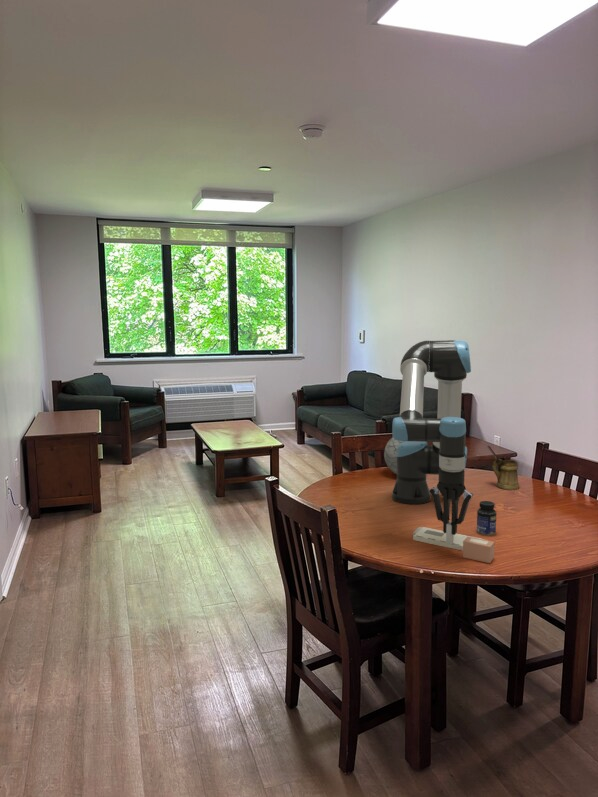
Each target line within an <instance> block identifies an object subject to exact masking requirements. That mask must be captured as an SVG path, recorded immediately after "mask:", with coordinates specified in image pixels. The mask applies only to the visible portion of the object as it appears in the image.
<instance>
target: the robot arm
mask: <svg viewBox="0 0 598 797" xmlns="http://www.w3.org/2000/svg"><path fill="white" fill-rule="evenodd" d="M470 356H471V355H470V348H469V344H468V342H467V341H465V340H455V339H453V340H452V339H451V340H423V341H419V342H418V343H414V345H412V346H410V348H409V349H408V350H406V352H405V353H404V354H403V356H402V359H401V362H400V367H399V368H400V369H399V370H400V371H399V372H400V374H401V375H402V377H401V378H402V382H401V392H400V393H401V395H400V405H399V406H400V407H399V408H400V409H399V416H398V417H394V418H393V419H392V428H391V431H392V432H391V434H392V437H393V439H394V440H398V441H406V442H403V443H401V444H399V445H398V448H397V474H396V480H395V483H394V486H393V489H392V492H391V495H392V496H391V497H392V500H394V501H395V502H397V503H401V504H407V505H421V504H427V503H428V502H430V501H431V496H432V501H433V505H434V509H435V514H436V519H437V520H438V521H440V522H442V523H443V525H442V526H443V529H442V531H443V532H444V533H446V545H452V544H453V543H454V535H455V534H458V525H461V524H462V523H463V522H464V520H465V516H466V514H467V510H468V507H469V503H470V500H471V499H472V497H473V496H474V494H473V493H472V492H469V491H468V490H467V489H466V486H465V473H466V472H465V470H466V465H467V456H468V446H466V439H467V438H466V433H467V427H466V426H467V424H466V420H465V419H464V418H461V412H462V395H463V394H462V392H463V391H462V389H463V381H465V380H466V378H467V374H469V373H471V372H472V371H471V370H472V366H471V357H470ZM427 373H434V375H433V376H434V379H436V380H437V381H438V383H437V386H438V387H437V418H432V417H431V418H427V417H424V390H425V376H426V374H427ZM428 443H432V444H428ZM427 475H433V476H434V475H437V476H438V483H437V485H436V486H435V487H432V488H431V489H430V488H429V484H428V482H427ZM440 494H441V497H442V502H443V507H442V502H441V497H440ZM462 495H463V496H462ZM461 496H462V497H463V502H462V505H461V508H460V511H459V500H460V497H461ZM450 504H451V505H450ZM450 506H451V508H450ZM450 509H451V518H450Z"/></svg>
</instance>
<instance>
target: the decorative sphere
mask: <svg viewBox="0 0 598 797" xmlns="http://www.w3.org/2000/svg"><path fill="white" fill-rule="evenodd" d="M403 442H406V441H398V440H394V439H393V436H392V437H391V438H390V439H389V440H388V441H387V443H386V445H385V448H384V453H383V456H384V461H385V464H386V466H387V468H388V469H389V470H390V471H391V472H392V473H394V474H396V475H397V448H398V445H399V444H401V443H403Z"/></svg>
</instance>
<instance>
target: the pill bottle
mask: <svg viewBox="0 0 598 797" xmlns="http://www.w3.org/2000/svg"><path fill="white" fill-rule="evenodd" d="M479 507H480V508H478V509H477V512H476V513H477V514H476V533H477V534H479V535H481V536H488V537H489V536H490V537H493V536H496V534H497V511H496V510H495V502H493V501H489V500H480V501H479Z"/></svg>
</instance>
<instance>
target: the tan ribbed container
mask: <svg viewBox="0 0 598 797" xmlns="http://www.w3.org/2000/svg"><path fill="white" fill-rule="evenodd" d="M487 448H488V449H489V451H490V452H491V454H492V455H493V457H494V460H493V462H492V465H491V466H492V471H493V472H494V474H495V476H496V479H497V481H496V487H497V488H499V489H502V490H506V491H507V490H508V491H515V489H516V490H519V489H520V483H519V479H518V478H519V477H518V470H519V468H518V467H519V466H518V465H517V461H515V460H512V459H505V460H504V459H500V458H499V457H498V456H497V454H496V453H495V452H494V450H493V449H492V447H491V446H489V445H487ZM498 467H499V468H500V469H499V470H498V469H497V468H498Z"/></svg>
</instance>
